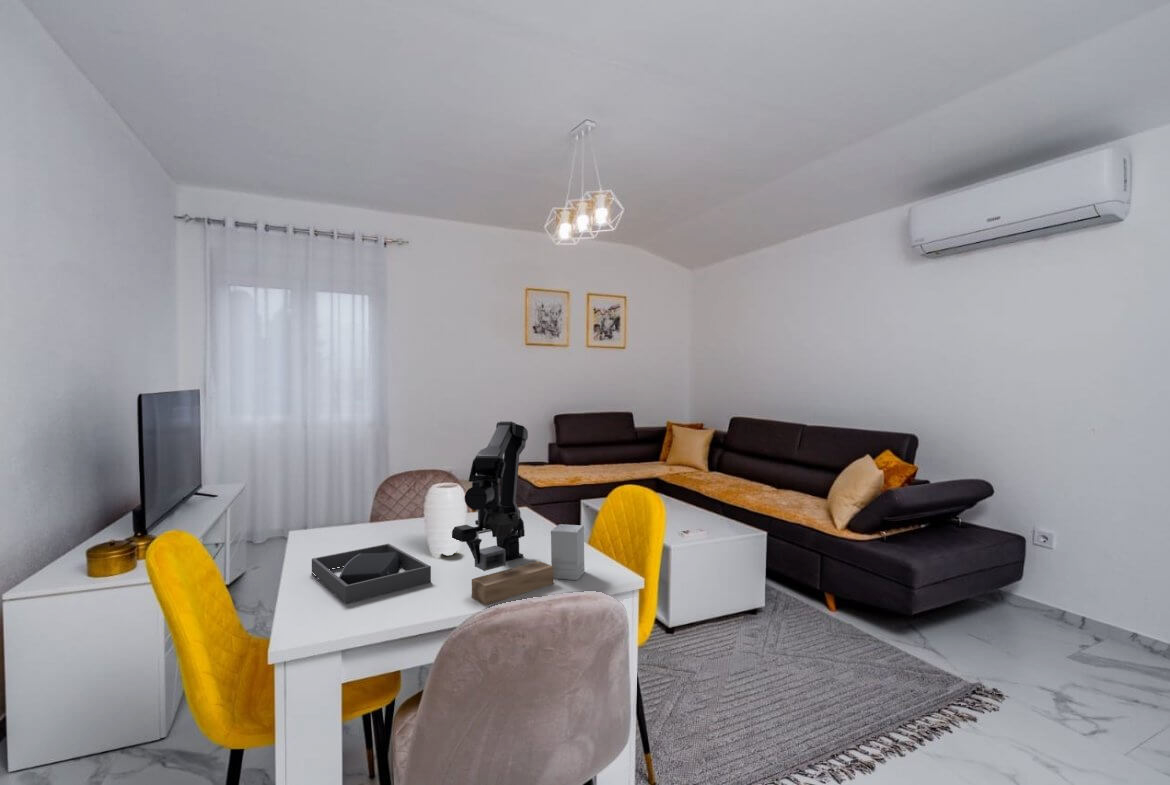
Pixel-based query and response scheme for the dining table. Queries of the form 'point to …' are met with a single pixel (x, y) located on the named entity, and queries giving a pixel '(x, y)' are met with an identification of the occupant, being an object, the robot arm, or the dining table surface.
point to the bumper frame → (374, 587)
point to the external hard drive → (369, 567)
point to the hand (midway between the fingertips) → (489, 560)
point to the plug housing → (491, 558)
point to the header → (511, 582)
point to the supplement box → (567, 551)
